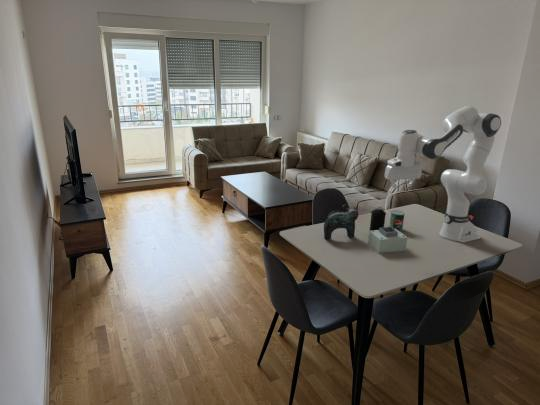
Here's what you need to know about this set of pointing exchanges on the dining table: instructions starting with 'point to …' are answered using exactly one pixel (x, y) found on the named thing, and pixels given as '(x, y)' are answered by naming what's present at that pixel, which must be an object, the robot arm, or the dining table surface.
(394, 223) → the canned tomato
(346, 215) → the dark green animal figurine
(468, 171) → the robot arm
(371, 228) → the aerosol can
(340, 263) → the dining table surface
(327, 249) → the dining table surface
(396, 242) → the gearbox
